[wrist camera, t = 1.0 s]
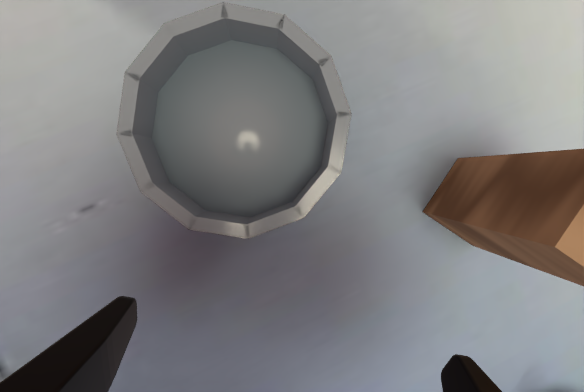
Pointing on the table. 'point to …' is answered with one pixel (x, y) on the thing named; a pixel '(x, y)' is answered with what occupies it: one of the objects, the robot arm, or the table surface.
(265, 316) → the table surface
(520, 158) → the walnut block
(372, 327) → the table surface
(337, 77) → the shallow grey bowl
